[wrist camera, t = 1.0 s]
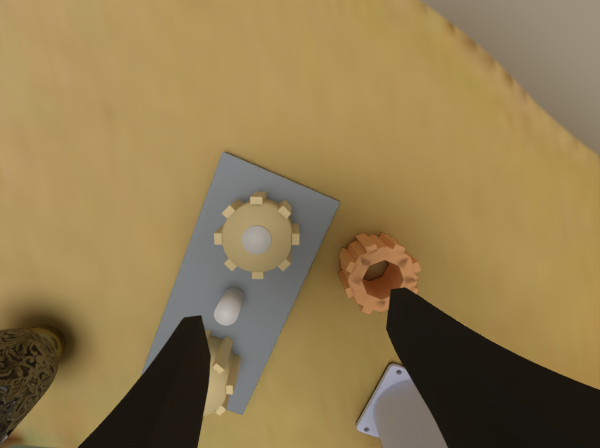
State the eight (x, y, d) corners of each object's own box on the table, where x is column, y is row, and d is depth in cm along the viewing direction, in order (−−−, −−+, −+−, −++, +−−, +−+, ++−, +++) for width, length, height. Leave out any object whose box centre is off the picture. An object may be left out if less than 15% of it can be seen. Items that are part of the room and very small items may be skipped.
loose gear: (415, 246, 26) (435, 260, 22) (385, 304, 27) (399, 325, 23) (354, 221, 25) (365, 230, 21) (326, 280, 26) (331, 299, 23)
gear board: (338, 200, 25) (349, 210, 20) (244, 406, 29) (234, 455, 24) (225, 152, 23) (208, 149, 19) (144, 373, 28) (113, 417, 23)
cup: (3, 368, 27) (-114, 452, 19) (5, 296, 26) (-121, 355, 18) (86, 382, 28) (5, 469, 20) (93, 312, 26) (8, 376, 18)
